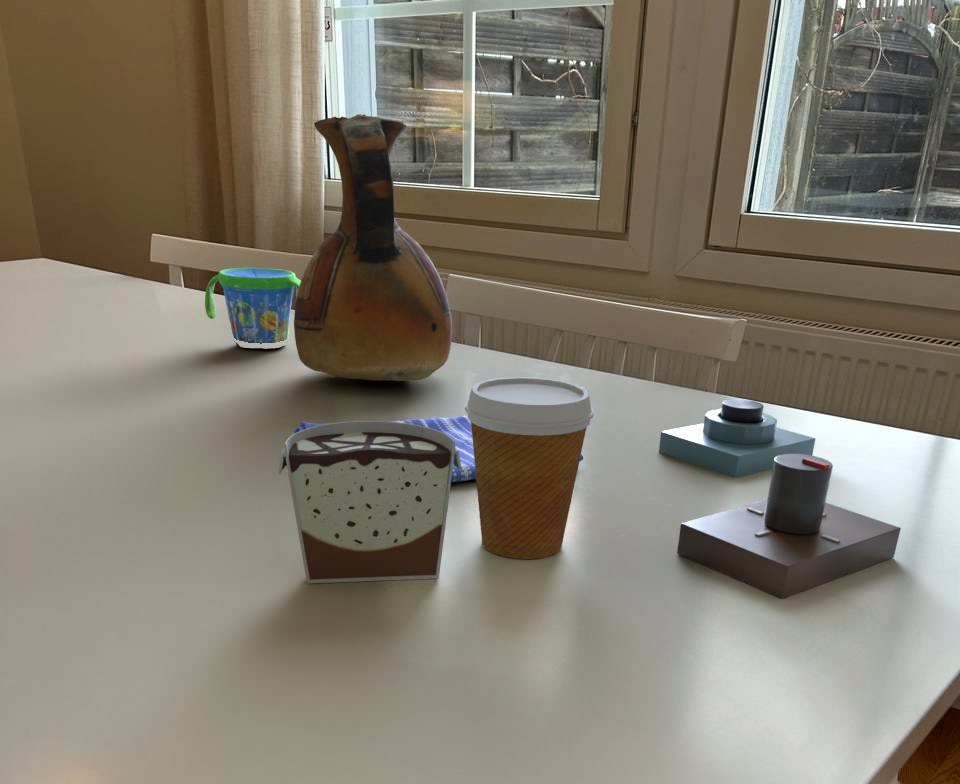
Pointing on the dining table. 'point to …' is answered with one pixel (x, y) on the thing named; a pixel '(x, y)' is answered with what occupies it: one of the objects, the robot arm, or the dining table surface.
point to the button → (741, 411)
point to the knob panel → (786, 547)
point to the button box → (733, 444)
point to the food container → (370, 499)
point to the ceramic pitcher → (370, 273)
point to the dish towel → (452, 427)
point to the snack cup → (255, 302)
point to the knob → (797, 493)
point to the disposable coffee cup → (526, 460)
